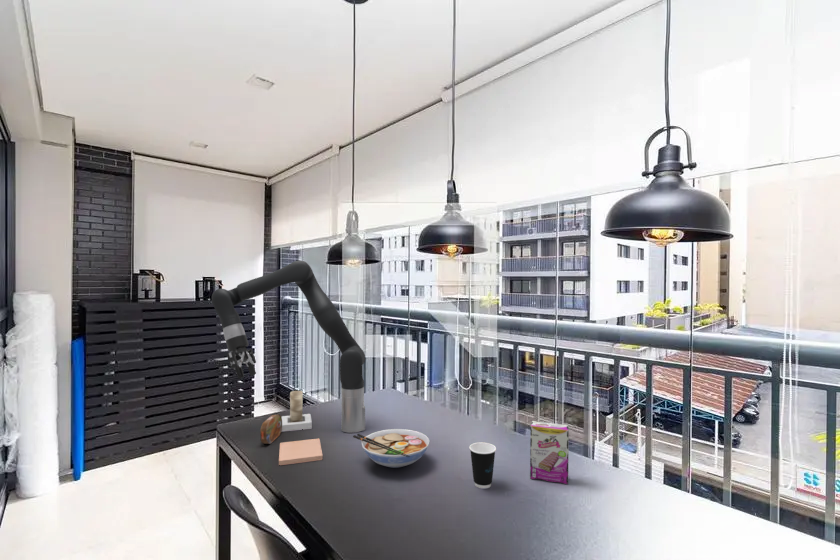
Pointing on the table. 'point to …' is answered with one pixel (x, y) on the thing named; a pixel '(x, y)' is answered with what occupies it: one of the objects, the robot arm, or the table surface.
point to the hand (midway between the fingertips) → (247, 376)
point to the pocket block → (296, 423)
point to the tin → (271, 429)
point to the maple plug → (296, 406)
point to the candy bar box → (549, 452)
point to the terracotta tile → (300, 451)
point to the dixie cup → (482, 463)
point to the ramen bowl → (394, 446)
